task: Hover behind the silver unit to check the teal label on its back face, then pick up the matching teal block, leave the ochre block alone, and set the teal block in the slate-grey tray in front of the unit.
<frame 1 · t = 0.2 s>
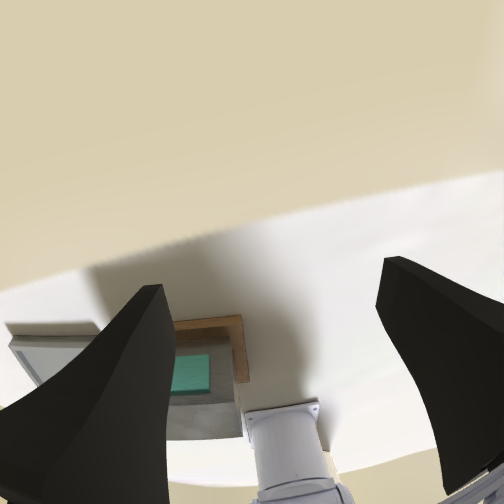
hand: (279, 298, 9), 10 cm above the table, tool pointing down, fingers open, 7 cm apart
slate tray: (78, 376, 24), on the table
silver unit: (184, 352, 24), on the table
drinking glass: (313, 455, 38), on the table
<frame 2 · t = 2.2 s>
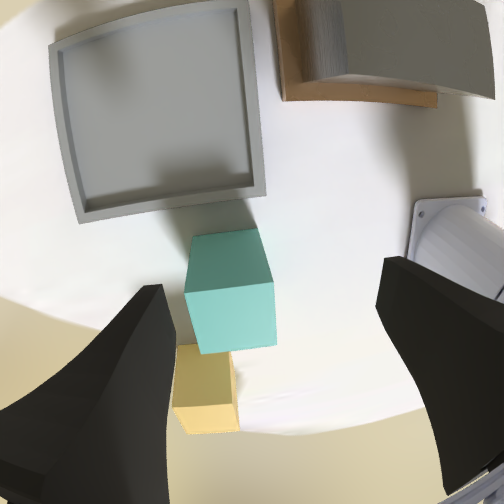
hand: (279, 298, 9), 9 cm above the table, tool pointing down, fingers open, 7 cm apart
ochre block: (207, 359, 24), on the table
slate tray: (154, 108, 15), on the table
silver unit: (360, 46, 14), on the table
teal block: (229, 260, 19), on the table
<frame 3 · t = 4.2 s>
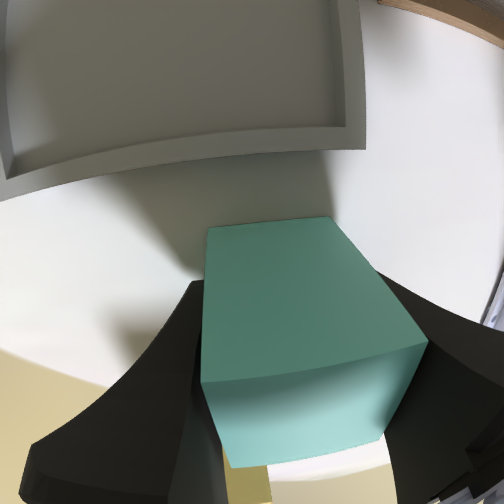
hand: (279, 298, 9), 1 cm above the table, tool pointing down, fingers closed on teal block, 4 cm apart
ochre block: (221, 415, 15), on the table
teal block: (272, 274, 11), on the table, touching gripper
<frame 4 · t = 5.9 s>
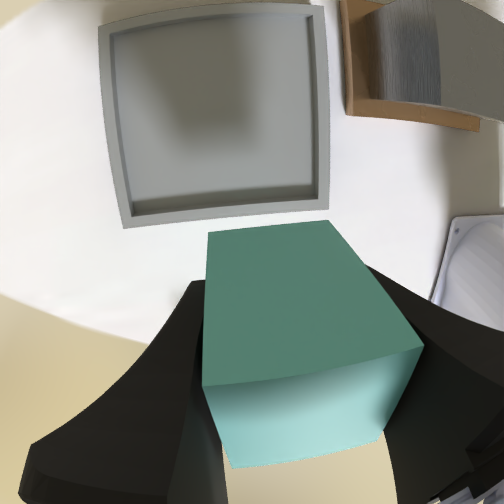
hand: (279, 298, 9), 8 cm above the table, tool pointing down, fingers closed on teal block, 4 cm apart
slate tray: (216, 109, 14), on the table
silver unit: (417, 67, 13), on the table
teal block: (272, 277, 11), point 7 cm above the table, touching gripper
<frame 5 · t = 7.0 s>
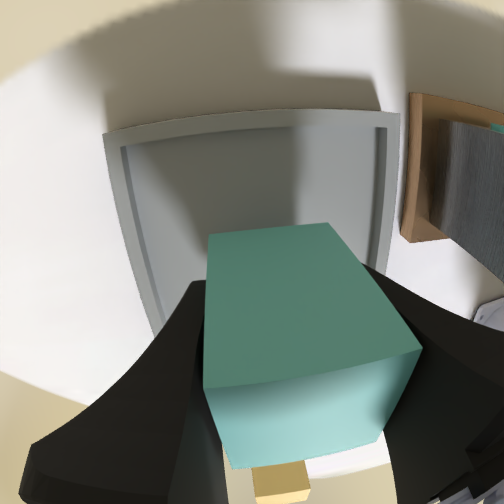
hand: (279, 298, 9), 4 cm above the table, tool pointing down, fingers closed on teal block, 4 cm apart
ochre block: (272, 439, 22), on the table
slate tray: (262, 238, 13), on the table
silver unit: (475, 169, 13), on the table
teal block: (272, 279, 11), point 3 cm above the table, touching gripper
when the fingers open (4 cm above the table, at t = 7.9 s): teal block drops 2 cm, resting on slate tray.
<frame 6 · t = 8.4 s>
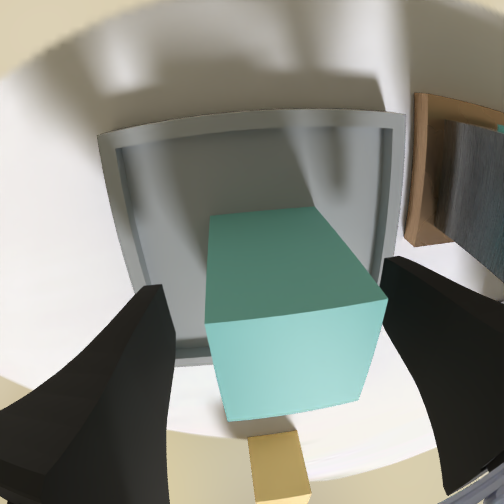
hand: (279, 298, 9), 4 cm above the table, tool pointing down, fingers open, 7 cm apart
ochre block: (272, 443, 22), on the table
slate tray: (263, 243, 13), on the table
silver unit: (480, 171, 12), on the table
teal block: (265, 257, 12), point 1 cm above the table, touching slate tray
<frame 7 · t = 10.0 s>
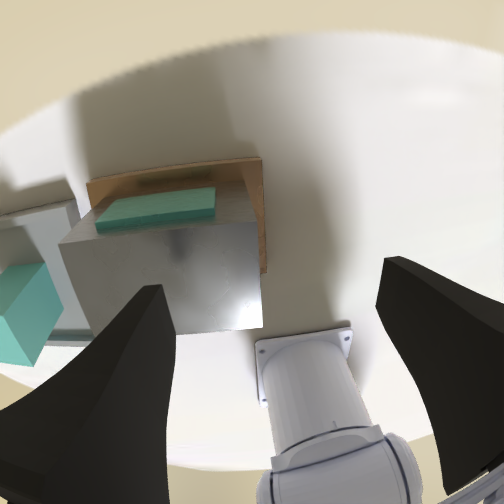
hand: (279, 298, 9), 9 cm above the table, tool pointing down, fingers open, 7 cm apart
slate tray: (38, 279, 18), on the table
silver unit: (179, 222, 18), on the table
teal block: (35, 287, 18), point 1 cm above the table, touching slate tray
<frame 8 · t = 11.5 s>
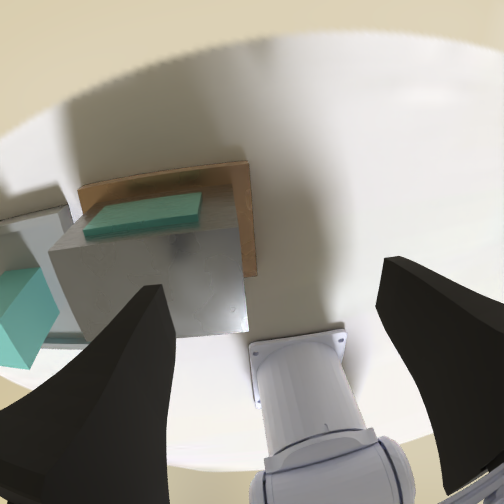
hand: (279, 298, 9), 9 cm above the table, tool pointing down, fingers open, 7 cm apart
slate tray: (34, 283, 19), on the table
silver unit: (169, 227, 18), on the table
teal block: (31, 291, 18), point 1 cm above the table, touching slate tray
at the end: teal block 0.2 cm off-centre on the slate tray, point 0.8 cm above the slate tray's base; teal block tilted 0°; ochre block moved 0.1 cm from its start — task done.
